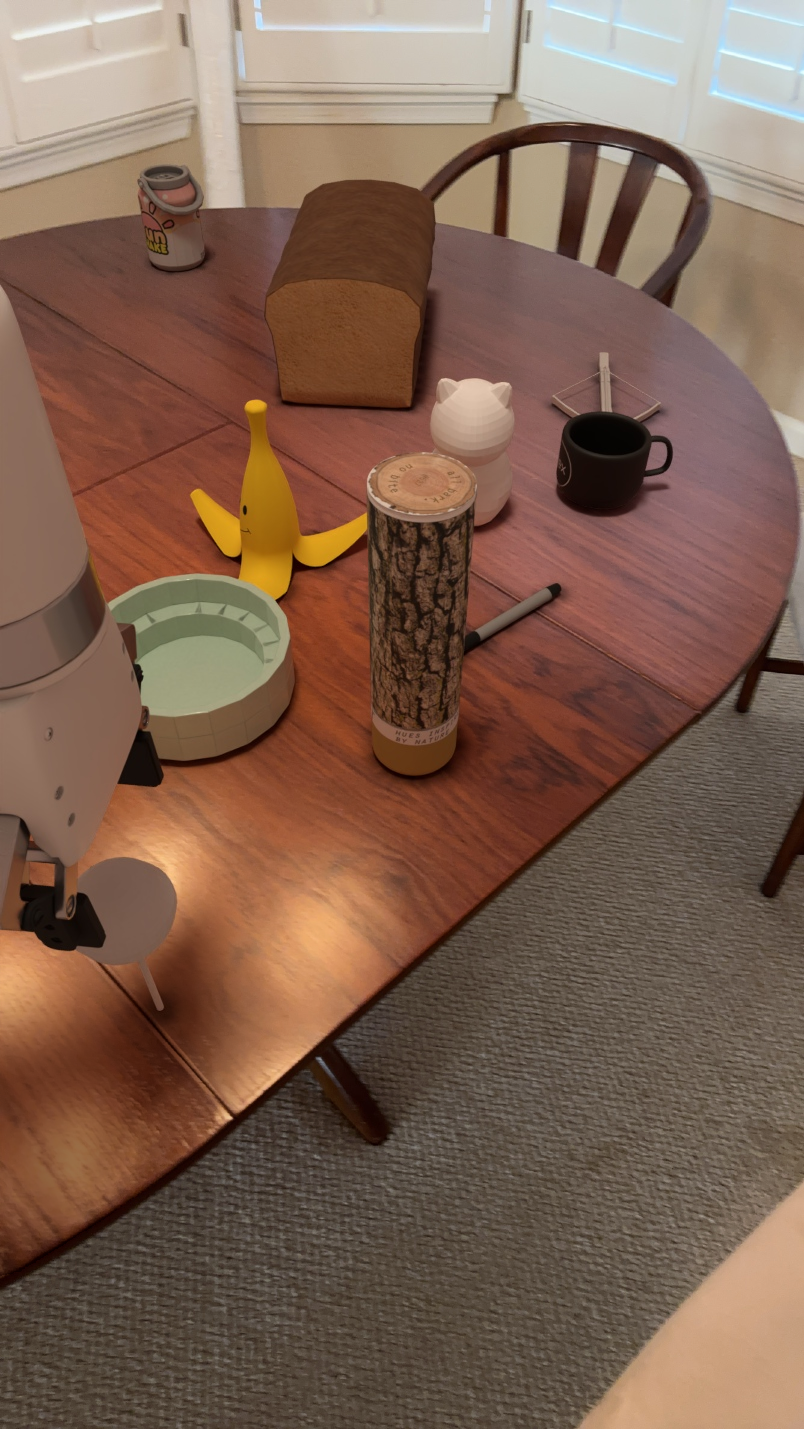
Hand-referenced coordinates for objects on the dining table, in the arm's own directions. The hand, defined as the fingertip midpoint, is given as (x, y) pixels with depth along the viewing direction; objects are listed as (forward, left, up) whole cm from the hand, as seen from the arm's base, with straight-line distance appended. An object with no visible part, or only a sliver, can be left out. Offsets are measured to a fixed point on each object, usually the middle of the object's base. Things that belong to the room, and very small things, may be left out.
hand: (106, 854), depth 48 cm
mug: (+31, +62, -18) cm, 71 cm away
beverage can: (-30, +113, -18) cm, 118 cm away
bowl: (-5, +28, -17) cm, 33 cm away
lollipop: (0, 0, -18) cm, 18 cm away
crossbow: (+31, +82, -18) cm, 89 cm away
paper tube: (+14, +24, -18) cm, 33 cm away
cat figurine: (+16, +58, -18) cm, 62 cm away
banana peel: (0, +47, -17) cm, 50 cm away
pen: (+20, +39, -18) cm, 47 cm away
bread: (0, +90, -18) cm, 91 cm away
